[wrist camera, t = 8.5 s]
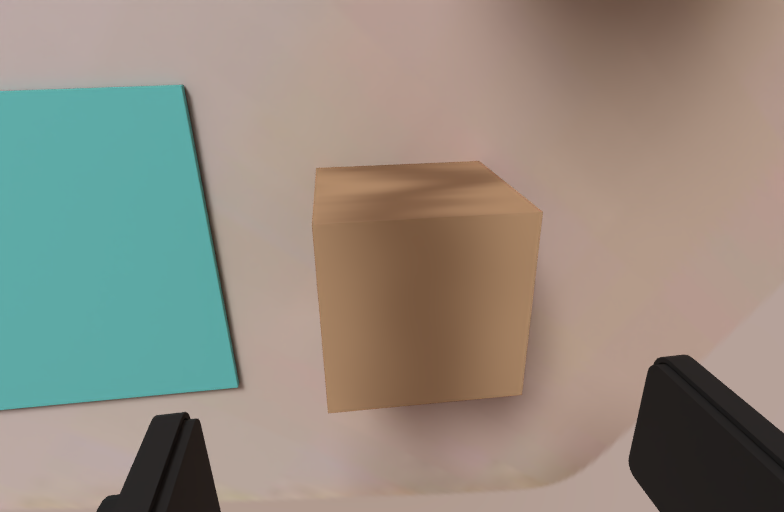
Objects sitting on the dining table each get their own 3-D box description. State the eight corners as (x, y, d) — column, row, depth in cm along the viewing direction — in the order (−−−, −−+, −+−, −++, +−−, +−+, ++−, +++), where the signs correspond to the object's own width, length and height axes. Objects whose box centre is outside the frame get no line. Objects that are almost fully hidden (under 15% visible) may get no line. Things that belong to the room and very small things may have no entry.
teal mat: (183, 84, 16) (181, 85, 16) (239, 382, 21) (237, 387, 21) (-230, 99, 15) (-241, 100, 15) (-68, 411, 20) (-74, 416, 19)
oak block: (478, 160, 18) (542, 211, 13) (470, 301, 21) (521, 394, 15) (316, 167, 18) (311, 224, 12) (327, 312, 20) (328, 413, 15)
